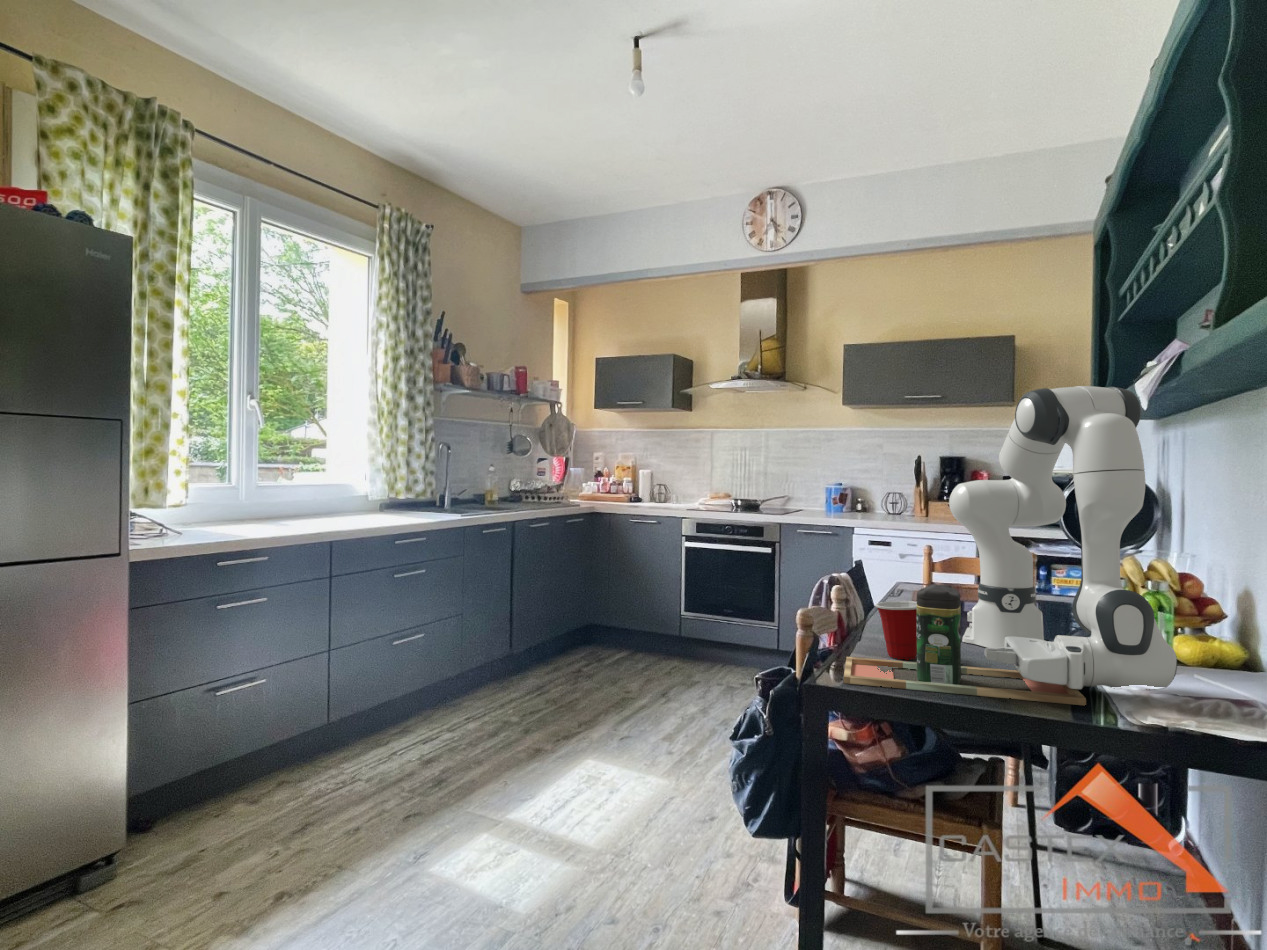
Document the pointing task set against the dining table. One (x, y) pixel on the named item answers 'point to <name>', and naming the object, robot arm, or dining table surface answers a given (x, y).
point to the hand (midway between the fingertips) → (985, 653)
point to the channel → (1073, 698)
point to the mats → (874, 672)
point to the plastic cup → (899, 628)
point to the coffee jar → (939, 635)
